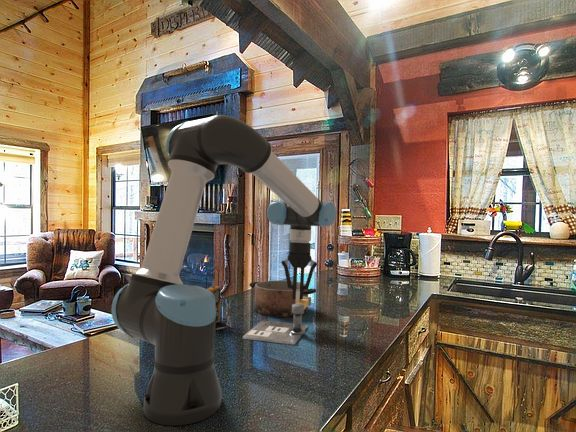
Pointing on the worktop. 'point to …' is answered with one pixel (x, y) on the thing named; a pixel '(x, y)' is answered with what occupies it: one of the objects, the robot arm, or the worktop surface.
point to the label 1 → (259, 333)
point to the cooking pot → (276, 298)
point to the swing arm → (301, 305)
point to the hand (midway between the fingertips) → (297, 308)
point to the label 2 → (277, 329)
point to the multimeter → (216, 298)
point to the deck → (288, 338)
